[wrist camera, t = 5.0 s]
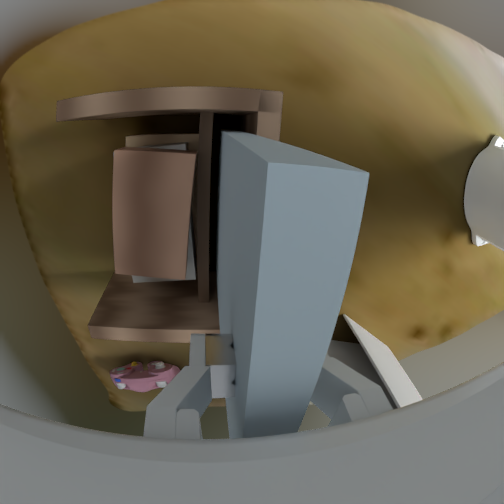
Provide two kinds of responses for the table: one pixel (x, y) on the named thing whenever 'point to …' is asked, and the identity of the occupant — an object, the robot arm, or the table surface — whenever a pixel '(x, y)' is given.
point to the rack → (205, 285)
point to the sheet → (281, 272)
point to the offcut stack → (156, 207)
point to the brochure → (375, 365)
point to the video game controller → (143, 376)
